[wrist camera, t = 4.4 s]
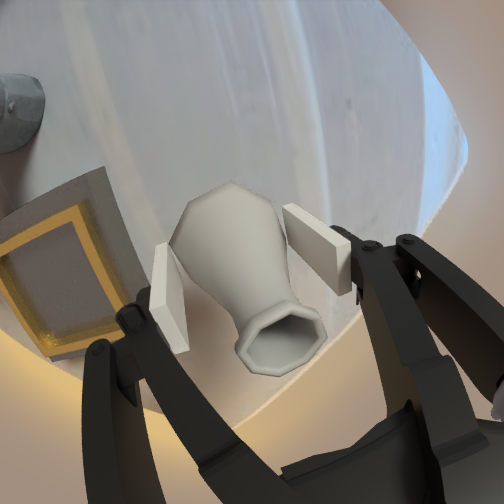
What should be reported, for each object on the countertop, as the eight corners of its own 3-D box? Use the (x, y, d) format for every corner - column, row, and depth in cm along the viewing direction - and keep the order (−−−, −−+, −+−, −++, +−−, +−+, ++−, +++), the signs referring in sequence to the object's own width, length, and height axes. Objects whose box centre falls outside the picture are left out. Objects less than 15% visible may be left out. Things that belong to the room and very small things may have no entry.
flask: (148, 243, 16) (132, 363, 7) (231, 158, 15) (308, 194, 7) (227, 304, 20) (270, 420, 11) (300, 235, 19) (394, 320, 10)
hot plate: (5, 217, 21) (-29, 240, 15) (104, 165, 23) (79, 176, 17) (73, 344, 30) (61, 383, 23) (166, 318, 32) (167, 361, 25)
